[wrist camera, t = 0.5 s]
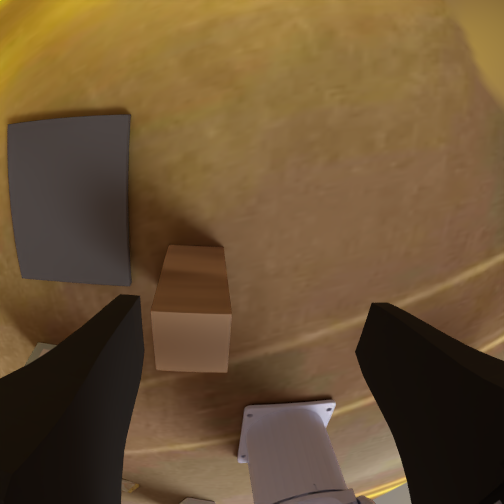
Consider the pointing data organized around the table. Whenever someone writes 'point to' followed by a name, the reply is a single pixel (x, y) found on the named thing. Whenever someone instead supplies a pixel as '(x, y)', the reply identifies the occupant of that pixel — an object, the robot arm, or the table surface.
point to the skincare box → (196, 501)
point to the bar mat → (71, 198)
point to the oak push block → (192, 311)
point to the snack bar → (128, 486)
